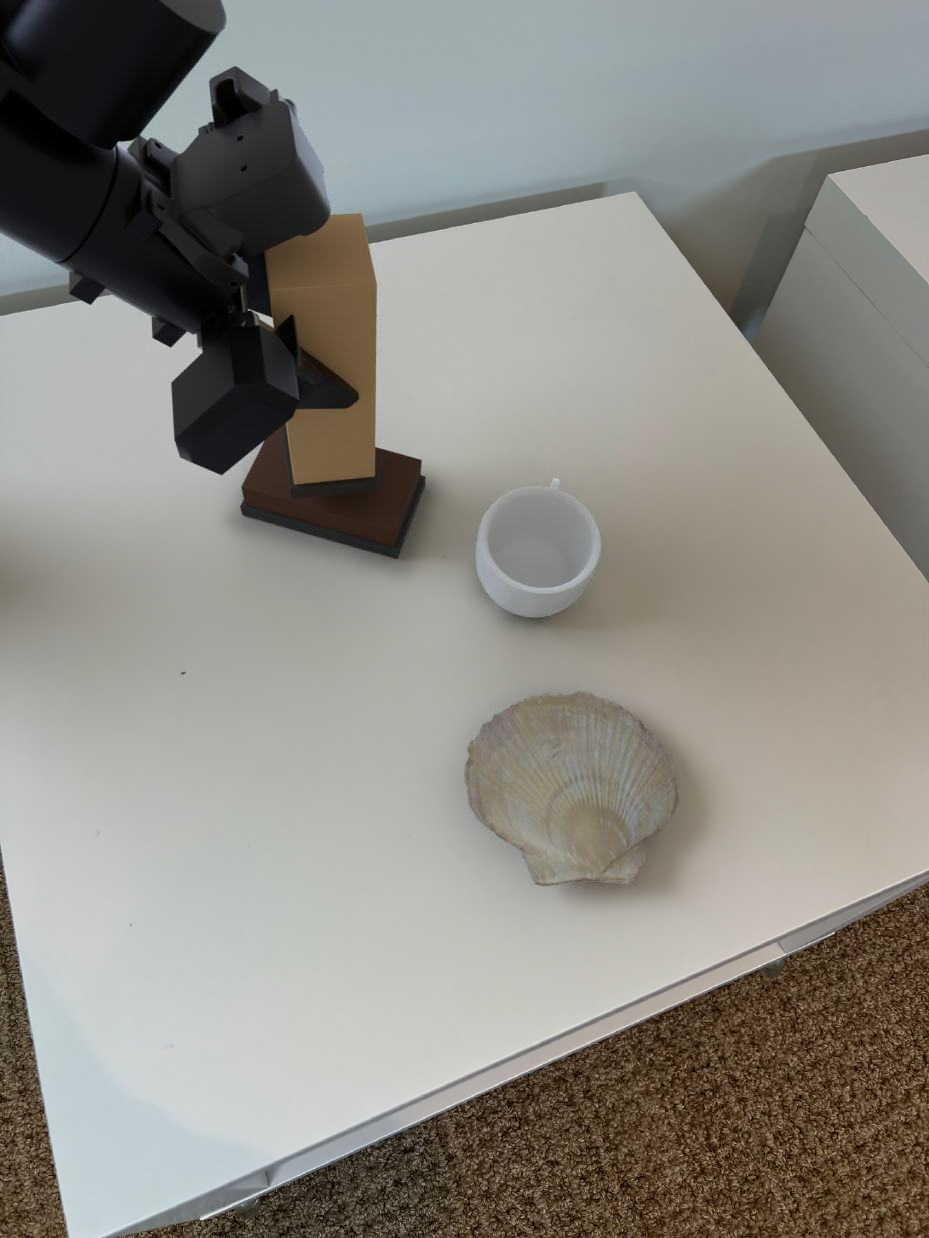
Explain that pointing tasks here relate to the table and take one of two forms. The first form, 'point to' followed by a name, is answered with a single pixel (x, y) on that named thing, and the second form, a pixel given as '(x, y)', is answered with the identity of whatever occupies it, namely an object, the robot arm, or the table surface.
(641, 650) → the table surface
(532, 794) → the seashell
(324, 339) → the tan block on base
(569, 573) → the teacup
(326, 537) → the brown slab
